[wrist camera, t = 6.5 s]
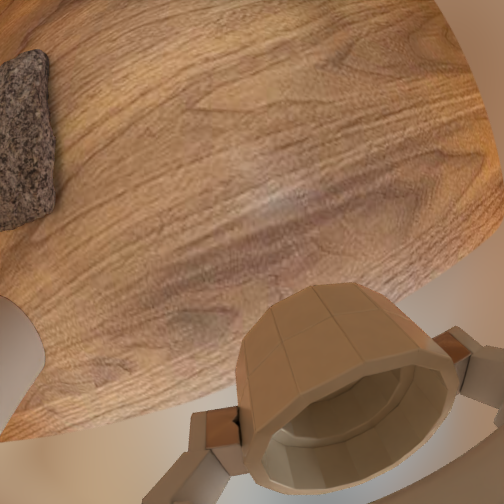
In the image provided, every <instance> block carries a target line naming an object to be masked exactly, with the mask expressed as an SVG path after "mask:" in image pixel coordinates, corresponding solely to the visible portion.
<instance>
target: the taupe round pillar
mask: <svg viewBox="0 0 504 504" xmlns="http://www.w3.org/2000/svg"><path fill="white" fill-rule="evenodd" d="M44 364H45V352H44V348H43V344H42V342H41V339H40V337H39V335H38V333H37V331H36V329H35V327H34V326H33V324H32V323H31V321H30V320H29V319H28V317H27V316H26V315H25V314H24V313H23V311H22V310H21V309H20V308H19V307H18V306H16V305H15V304H14V303H13V302H11V301H10V300H8V299H7V298H5V297H2V296H0V435H1V433H2V431H3V429H4V428H5V426H6V424H7V423H8V421H9V419H10V418H11V416H12V414H13V413H14V411H15V410H16V408H17V407H18V405H19V403H20V402H21V400H22V399H23V397H24V396H25V394H26V393H27V391H28V390H29V388H30V387H31V385H32V384H33V382H34V381H35V379H36V378H37V376H38V375H39V374H40V372H41V371H42V369H43V367H44Z"/></svg>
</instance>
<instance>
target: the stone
mask: <svg viewBox="0 0 504 504" xmlns="http://www.w3.org/2000/svg"><path fill="white" fill-rule="evenodd" d="M48 76H49V59H48V56H47V55H46V54H45V53H44V52H43V51H42V50H39V49H35V50H31V51H27V52H24V53H21V54H19V55H18V56H17V57H16V58H15V59H12V60H10V61H7V62H4V63H3V64H2V65H1V66H0V231H7V230H13V229H15V228H16V227H19V226H22V225H23V224H25V223H28V222H32V221H34V220H35V219H37V218H39V217H43V216H45V214H49V213H51V212H52V211H53V209H54V205H55V197H56V192H55V190H54V184H53V170H54V160H55V158H54V153H55V145H56V139H55V137H54V136H53V132H52V128H51V126H50V124H49V123H50V111H49V109H48Z"/></svg>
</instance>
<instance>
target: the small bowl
mask: <svg viewBox="0 0 504 504" xmlns="http://www.w3.org/2000/svg"><path fill="white" fill-rule="evenodd" d="M235 374H236V386H237V397H238V409H239V423H240V433H241V444H242V455H243V464H244V465H245V467H246V468H247V470H248V472H249V473H250V475H251V476H252V478H253V479H254V480H255V482H256V484H258V485H260V486H263V487H265V488H268V489H271V490H274V491H277V492H279V493H282V494H287V495H317V494H326V493H330V492H334V491H338V490H342V489H346V488H350V487H353V486H357V485H360V484H363V483H365V482H367V481H369V480H371V479H373V478H375V477H377V476H379V475H381V474H383V473H385V472H387V471H389V470H391V469H393V468H394V467H396V466H398V465H399V464H400V463H402V462H403V461H404V460H406V459H407V458H408V457H409V456H411V455H412V454H413V453H415V452H416V451H417V450H418V449H419V448H421V447H422V446H423V445H424V444H425V443H426V442H428V440H429V439H430V438H431V437H432V436H433V434H434V433H435V432H436V430H437V429H438V428H439V427H440V425H441V424H442V423H443V421H444V420H445V418H446V417H447V416H448V414H449V413H450V411H451V409H452V406H453V403H454V399H455V396H456V393H457V390H458V387H459V378H458V375H457V372H456V369H455V366H454V363H453V361H452V358H451V357H450V356H449V355H448V354H447V353H446V352H445V351H444V350H443V349H442V348H441V347H440V346H439V345H438V344H437V343H436V342H434V341H433V340H432V339H431V338H430V337H429V336H428V335H427V334H426V333H425V332H424V331H423V330H422V329H421V328H420V327H418V326H417V325H416V324H415V323H414V322H413V321H412V320H411V319H410V318H409V317H407V316H406V315H405V314H404V313H403V312H402V311H401V310H400V309H399V308H398V307H396V306H395V305H394V304H393V303H392V302H391V301H390V300H389V299H388V298H386V297H385V296H384V295H382V294H380V293H378V292H376V291H373V290H371V289H369V288H366V287H364V286H362V285H360V284H357V283H352V282H349V283H338V284H326V285H314V286H309V287H307V288H305V289H303V290H301V291H299V292H297V293H296V294H294V295H292V296H290V297H288V298H286V299H284V300H282V301H280V302H278V303H276V304H274V305H272V306H271V308H269V309H268V310H267V311H266V312H265V314H264V315H263V316H262V317H261V318H260V319H259V321H258V322H257V323H256V324H255V325H254V326H253V328H252V329H251V330H250V331H249V332H248V333H247V334H246V336H245V337H244V339H243V340H242V343H241V348H240V352H239V356H238V361H237V365H236V369H235Z"/></svg>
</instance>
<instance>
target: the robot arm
mask: <svg viewBox="0 0 504 504" xmlns="http://www.w3.org/2000/svg"><path fill="white" fill-rule="evenodd" d="M432 340H433V341H434V342H436V343H437V344H438V345H439V346H440V347H441V348H442V349H443V350H444V351H445V352H446V353H447V354H448V355H449V356H450V357H451V358H452V361H453V363H454V366H455V369H456V372H457V375H458V378H459V387H458V390H457V393H456V395H457V394H459V393H460V394H461V395H464V396H466V397H469V398H472V399H474V400H477V401H479V402H481V403H484V404H487V405H489V406H492V407H495V408H498V409H499V411H498V413H497V415H496V417H495V419H494V424H495V425H496V426H497V427H498V429H497V430H495V431H494V432H493V433H492V434H490V435H489V436H488V437H486V438H485V439H484V440H483V441H481V442H480V443H478V444H477V445H476V446H474V447H473V448H471V449H470V450H468V451H467V452H466V453H464V454H463V455H461V456H460V457H458V458H457V459H455V460H454V461H452V462H450V463H449V464H447V465H446V466H444V467H442V468H440V469H439V470H437V471H435V472H433V473H432V474H430V475H428V476H426V477H424V478H423V479H421V480H419V481H417V482H415V483H413V484H411V485H409V486H407V487H405V488H403V489H401V490H399V491H396V492H394V493H392V494H390V495H387V496H385V497H383V498H381V499H378V500H376V501H373V502H371V503H368V504H504V349H502V348H497V347H491V346H485V347H483V346H481V345H480V344H479V343H478V342H477V341H475V340H474V339H473V338H472V337H470V336H469V335H468V334H467V333H466V332H464V331H463V330H462V329H461V328H459V327H457V326H454V327H452V328H451V329H449V330H447V331H445V332H443V333H441V334H439V335H437V336H435V337H434V338H432ZM247 473H249V472H248V470H247V468H246V467H245V465H244V464H243V455H242V444H241V433H240V423H239V409H238V406H233V407H228V408H221V409H215V410H208V411H204V412H197V413H193V414H192V416H191V422H190V434H189V448H188V452H184V453H183V454H182V455H181V456H180V457H179V459H178V460H177V461H176V462H175V463H174V464H173V466H172V467H171V468H170V469H169V470H168V472H167V473H166V474H165V475H164V476H163V477H162V478H161V479H160V481H159V482H158V483H157V484H156V485H155V486H154V487H153V488H152V489H151V491H150V492H149V493H148V494H147V495H146V496H145V497H144V498H143V499H142V504H216V502H217V500H218V499H219V497H220V495H221V493H222V492H223V490H224V488H225V486H226V485H227V483H228V481H229V480H230V476H235V475H241V474H247Z"/></svg>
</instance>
